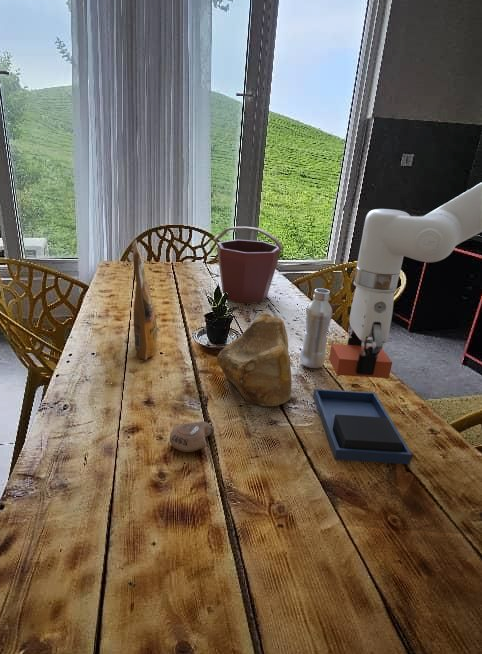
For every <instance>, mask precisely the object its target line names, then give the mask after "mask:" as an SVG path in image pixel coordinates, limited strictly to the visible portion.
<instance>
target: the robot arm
mask: <svg viewBox="0 0 482 654" xmlns="http://www.w3.org/2000/svg"><path fill="white" fill-rule="evenodd" d="M480 233H482V182H480V183H478V184H476V185H475V186H473V187H471V188H470V189H467V190H466V191H465V192H463V193H461V194H459V195H458V196H456V197H454V198H452V199H451V200H449V201H448V202H445V203H443V204H442V205H440V206H439V207H437V208H435V209H433V210H432V211H430V212H428V213H427V214H424V215H422V216H415V215H413V216H412V215H411V214H410V213H408V212H406V211H403V210H398V209H390V208H375V209H371V210H370V211H368V212H367V214H366V216H365V220H364V223H363V230H362V235H361V241H360V247H359V252H358V258H357V262H356V268H355V272H354V273H355V274H354V278H353V285H354V286H355V290H354V294H353V297H352V298H353V299H352V302H351V308H350V313H349V322H348V323H349V326H350V329H349V333H348V336H349V337H348V338H347V344H346V345H358V346H362V352H361V354H359V358H358V363H357V368H356V373H357V374H362V375H373V373H374V369H375V364H376V360H377V357H378V354H379V352H380V350H381V349H383V346H384V345H383V344H386V343H387V342H388V340H389V336H390V329H391V325H392V319H393V318H392V317H393V311H394V301H395V291H397V289H398V283H399V279H400V276H401V275H400V274H401V270H402V265H403V261H404V257H406V258H408V259H412V260H415V261H419V262H422V263H423V262H424V263H436V262H440V261H442V260H444V259H446V258H448V257H449V256H450V255H451V254H452V252H453V251H454V250H455V248H456V246H458V245H460V244H461V243H463V242H465V241H468V240H469V239H471V238H472V237H475V236H477V235H478V234H480ZM367 338H371V339H367ZM368 344H371V345H370V346H371V347H368V348H367V346H368ZM366 348H367V349H366Z"/></svg>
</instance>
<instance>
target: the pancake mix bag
mask: <svg viewBox="0 0 482 654" xmlns="http://www.w3.org/2000/svg"><path fill="white" fill-rule="evenodd" d="M131 247H132V252H133V253H132V254H133V255H132V256H133V258H132V259H133V260H132V261H133V271H134V277H135V289H134V290H135V291H134V301H133V335H134V348H135V352H136V353H135V354H136V355H135V356H136V357H137V358H138V359H141V360H144V361H147V360H148V359H149V358H152V357H154V355H155V353H156V346H157V338H158V323H157V317H156V311H155V307H154V302H153V297H152V292H151V288H150V284H149V280H148V277H147V276H148V275H147V272H146V269H145V268H146V267H145V264H144V260H143V258H142V254H141V251H140V248H139V247H138V244H137V239H135V240H134V241H133V243H131Z"/></svg>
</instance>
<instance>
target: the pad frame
mask: <svg viewBox="0 0 482 654" xmlns="http://www.w3.org/2000/svg"><path fill="white" fill-rule="evenodd" d="M312 395H313V396H312V398H313V401H314V403H315V407H316V409H317V412H318V415H319V418H320V420H321V424H322V427H323V429H324V430H323V431H324V432H325V435H326V438H327V441H328V444H329V448H330V449H331V450H330V451H331V453H332V456H333V457H334V460H339V461H353V462H354V461H355V462H368V463H382V464H383V463H385V464H400V465H410V464H411V463H412V458H413V453H412V451H411V450H410V449H409V447H408V445H407V444H406V442H405V440H404V438H403V437H402V436H401V434H400V432H399V430H398V428H397V426H396V425H395V423H394V421H393V420H392V418H391V417H390V415H389V414H388V412H387V410H386V408H385V407H384V405H383V404H382V402H381V401H380V399H379V397H378V395H377V394H376V392H375V391H374V392H373V391H359V390H357V391H356V390H341V389H340V390H338V389H325V388H314V389H313V394H312ZM335 414H337V415H353V416H369V417H385V418H388V420H389V421H390V423H391V425H392V426H393V428H394V430H395V431H396V433H397V435H398V437H399V438H400V440H401V442H402V447H401V451H400V452H391V451H376V450H360V449H345V448H339V445H338V442H337V440H336V437H335V434H334V432H333V424H334V419H335Z"/></svg>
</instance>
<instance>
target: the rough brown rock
mask: <svg viewBox="0 0 482 654" xmlns="http://www.w3.org/2000/svg"><path fill="white" fill-rule="evenodd" d="M290 357H291V356H290V353H289V338H288V334H287V329H286V325H285V321H283V320H282V318H280V317H278V316H274V315H273V316H271V315H270V314H268V313H267V312H261V313H259V314H258V315H257V316H256V318H255V319H254V320H253V321H252V323H250V325H249V327H247V328H246V330H244V332H243V333H242V334H241V335H240V336H239V337H238V338H236V339H235V340H233V341H232V342H230V343H228V344H227V345H225V346H224V347H223V349H221V351H219V353H218V355H217V357H216V364H217V365H218V367H220V369H221V370H222V372H223V374H224V376H225V377H226V379H228V381H229V382H231V383H232V384H233V385H234V386H235V387H236V389H237V390H238V391H239V393H240V394H241V396H242V398H243V399H244V400H245V401H246V402H247V403H249V404H250V405H254V404H256V405H259V406H261V407H278V406H280V405H283V404H285V403H287V402H289V400H290V399H291V396H292V368H291V367H292V366H291V358H290Z"/></svg>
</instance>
